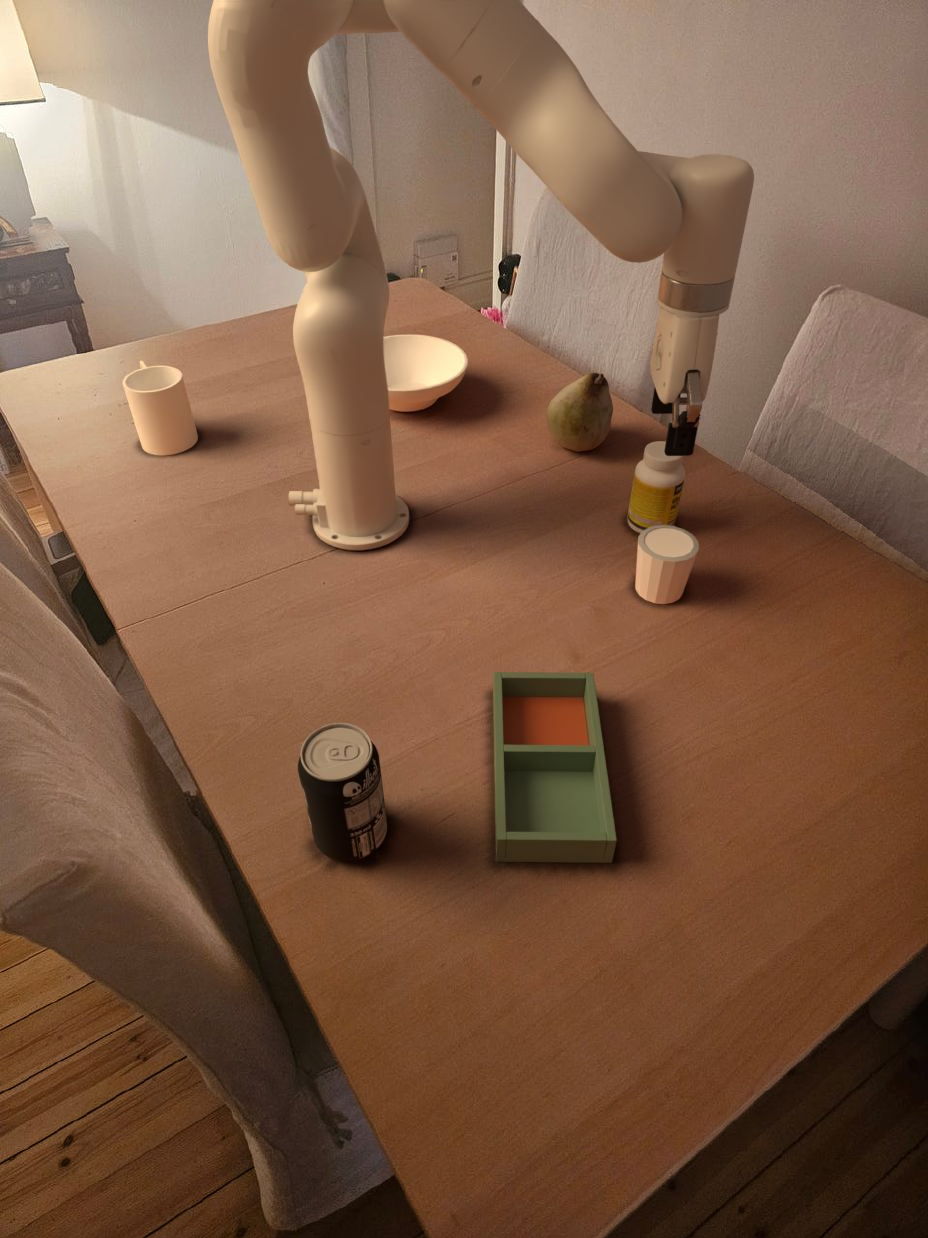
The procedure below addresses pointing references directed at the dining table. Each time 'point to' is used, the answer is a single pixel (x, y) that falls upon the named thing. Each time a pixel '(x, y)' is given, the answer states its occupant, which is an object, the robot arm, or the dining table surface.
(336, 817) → the beverage can
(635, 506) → the pill bottle
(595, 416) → the fruit
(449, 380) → the bowl
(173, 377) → the cup
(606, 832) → the tray
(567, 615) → the dining table surface
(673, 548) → the cream faceted tub
